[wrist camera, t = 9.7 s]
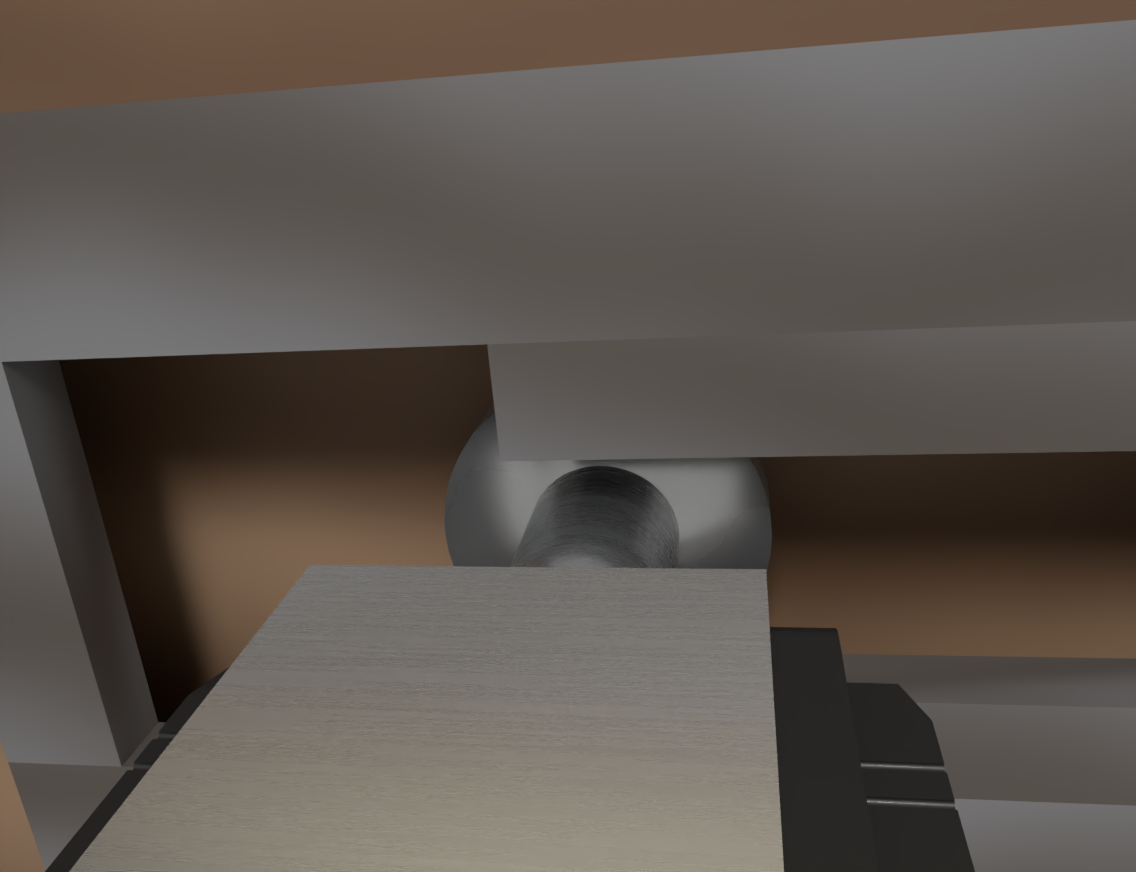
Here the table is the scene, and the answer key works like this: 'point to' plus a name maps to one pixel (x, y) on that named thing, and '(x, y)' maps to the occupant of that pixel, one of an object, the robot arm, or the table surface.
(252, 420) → the keyhole box
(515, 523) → the keyhole stud
